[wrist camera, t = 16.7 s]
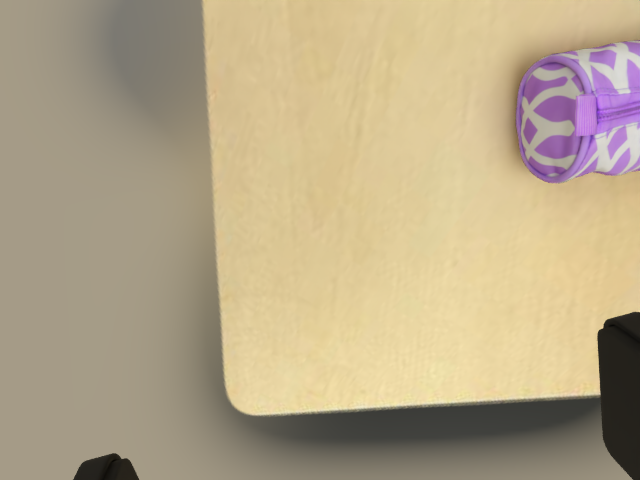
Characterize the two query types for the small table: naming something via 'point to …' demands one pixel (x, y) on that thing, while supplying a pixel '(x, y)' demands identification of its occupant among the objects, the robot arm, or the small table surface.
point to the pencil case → (581, 113)
